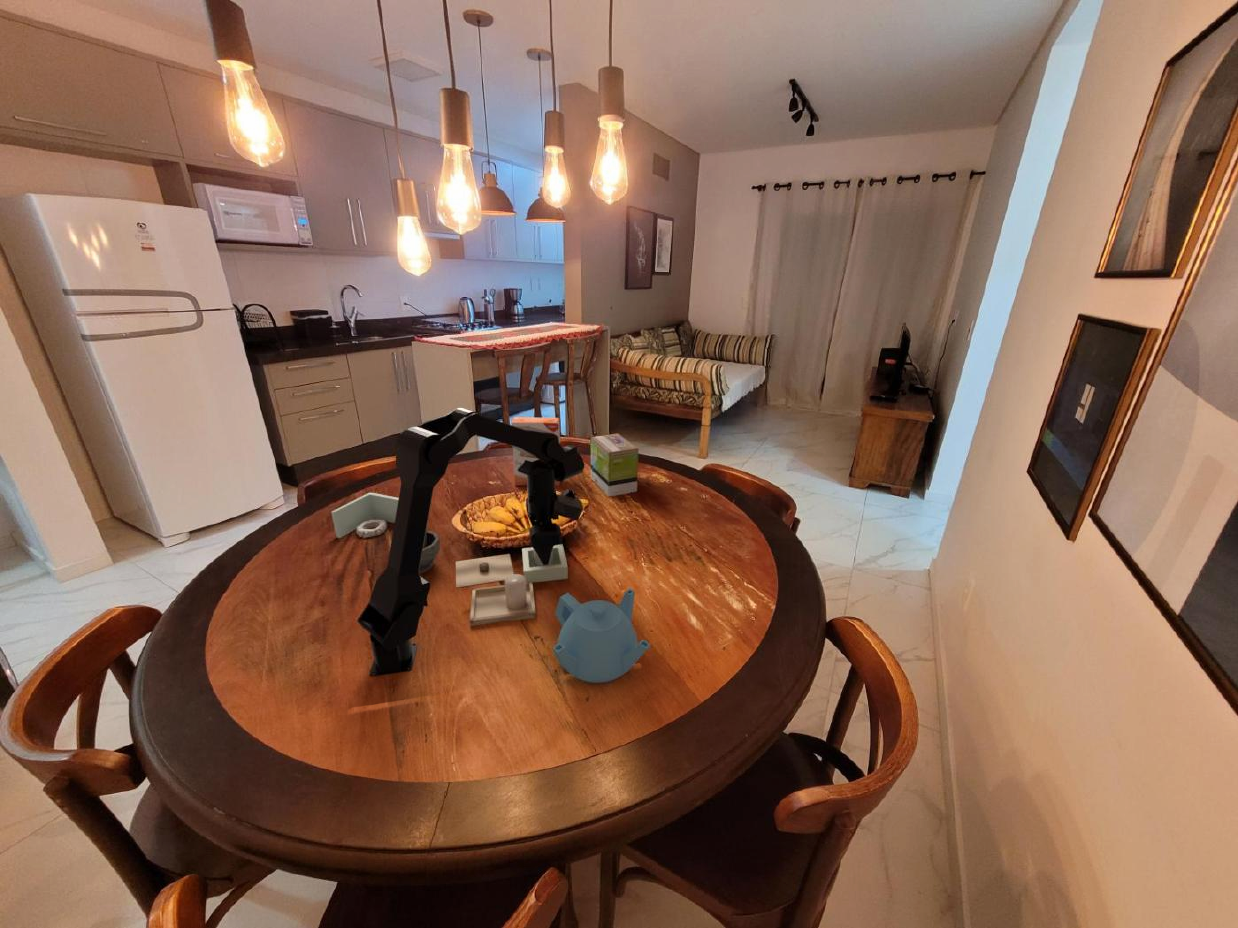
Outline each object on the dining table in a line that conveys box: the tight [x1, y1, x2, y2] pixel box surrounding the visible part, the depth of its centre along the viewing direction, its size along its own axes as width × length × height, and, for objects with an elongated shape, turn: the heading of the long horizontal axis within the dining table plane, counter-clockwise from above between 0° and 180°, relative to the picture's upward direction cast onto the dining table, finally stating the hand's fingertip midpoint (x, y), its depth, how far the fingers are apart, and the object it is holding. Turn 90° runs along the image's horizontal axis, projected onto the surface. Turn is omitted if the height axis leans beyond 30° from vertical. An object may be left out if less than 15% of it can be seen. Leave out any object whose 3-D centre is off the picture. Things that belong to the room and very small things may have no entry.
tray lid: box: [455, 553, 515, 589], centre depth 105 cm, size 10×12×2 cm
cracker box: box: [511, 416, 561, 487], centre depth 148 cm, size 14×6×21 cm, turn 93°
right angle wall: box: [330, 492, 399, 539], centre depth 120 cm, size 12×12×8 cm
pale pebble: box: [504, 573, 527, 610], centre depth 94 cm, size 4×4×6 cm
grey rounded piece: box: [534, 550, 553, 567], centre depth 106 cm, size 4×4×6 cm
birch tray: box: [469, 582, 537, 627], centre depth 95 cm, size 10×12×2 cm
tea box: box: [590, 433, 639, 497], centre depth 148 cm, size 15×10×15 cm, turn 25°
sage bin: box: [521, 544, 569, 584], centre depth 106 cm, size 9×9×4 cm
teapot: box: [552, 588, 652, 684], centre depth 81 cm, size 15×15×11 cm
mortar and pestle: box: [419, 527, 441, 575], centre depth 105 cm, size 11×9×12 cm
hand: (543, 552), depth 105 cm, fingers open, 9 cm apart
